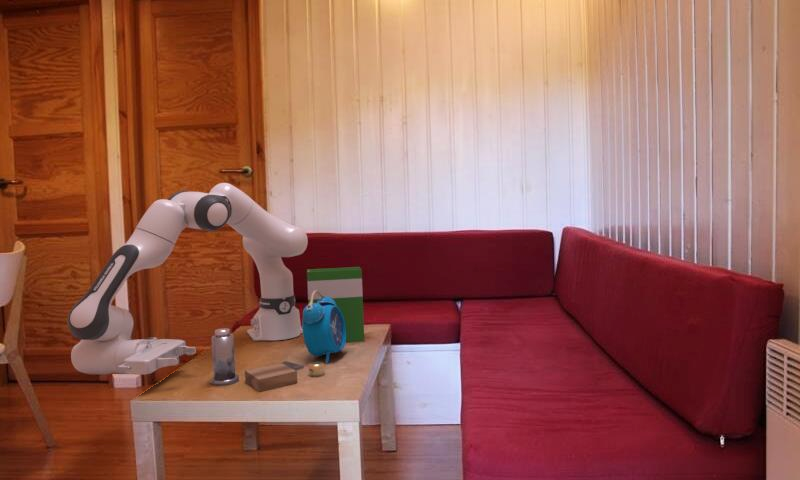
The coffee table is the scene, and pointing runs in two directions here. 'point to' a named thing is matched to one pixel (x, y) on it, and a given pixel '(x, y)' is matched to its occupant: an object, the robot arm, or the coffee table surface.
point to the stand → (270, 376)
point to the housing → (223, 358)
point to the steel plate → (293, 365)
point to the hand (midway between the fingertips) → (186, 355)
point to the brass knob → (316, 369)
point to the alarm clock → (323, 327)
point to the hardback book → (341, 296)
